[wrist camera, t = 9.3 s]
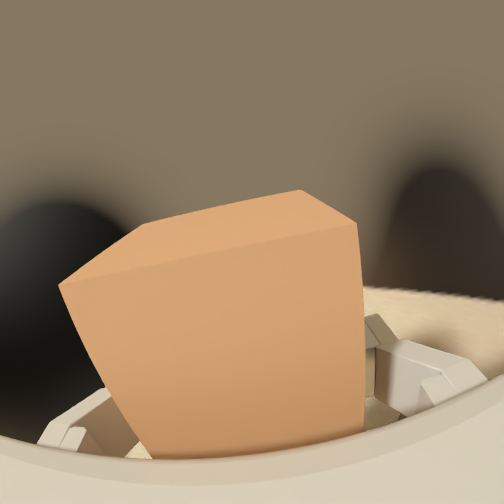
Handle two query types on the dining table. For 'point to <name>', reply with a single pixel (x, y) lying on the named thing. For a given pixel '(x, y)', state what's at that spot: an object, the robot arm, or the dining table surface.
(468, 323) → the dining table surface
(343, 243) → the block
